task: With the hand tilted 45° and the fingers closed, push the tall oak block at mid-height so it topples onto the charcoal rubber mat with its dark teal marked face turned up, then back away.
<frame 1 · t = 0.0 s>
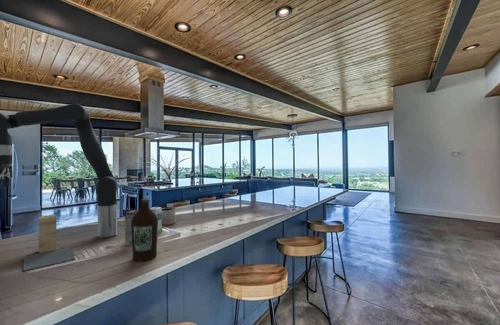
hand: (1, 187, 117), 29 cm above the counter, tool pointing down, fingers open, 8 cm apart
coffee box: (134, 243, 122), on the counter
planter: (167, 223, 161), on the counter
rubber mat: (49, 258, 102), on the counter
oak block: (47, 250, 111), on the counter
syrup box: (155, 232, 139), on the counter
olive oil: (144, 257, 102), on the counter
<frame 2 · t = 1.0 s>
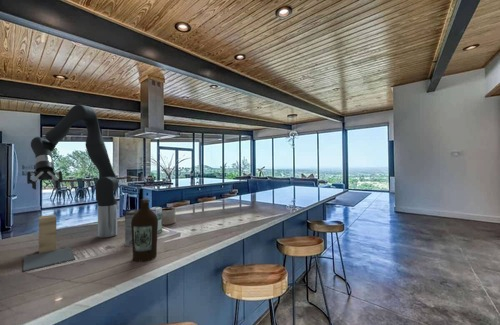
hand: (46, 187, 120), 28 cm above the counter, tool tilted 45°, fingers open, 7 cm apart
nothing on the counter moved.
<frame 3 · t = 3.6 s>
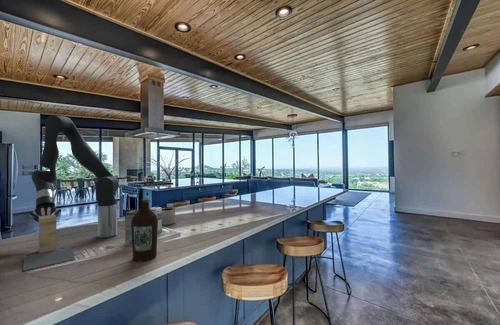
hand: (46, 227, 116), 9 cm above the counter, tool tilted 45°, fingers closed
nothing on the counter moved.
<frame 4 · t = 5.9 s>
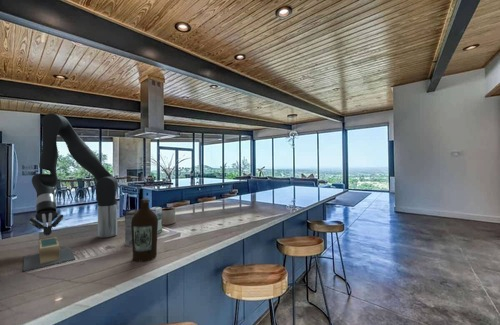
hand: (47, 234, 109), 8 cm above the counter, tool tilted 45°, fingers closed
oak block: (47, 244, 109), point 3 cm above the counter, tilted 90°, touching rubber mat
everything else where it was.
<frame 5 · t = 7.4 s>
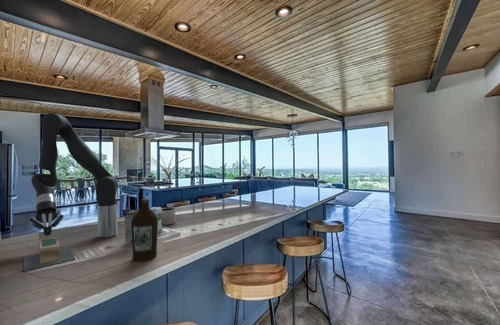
hand: (47, 234, 109), 8 cm above the counter, tool tilted 45°, fingers closed
nothing on the counter moved.
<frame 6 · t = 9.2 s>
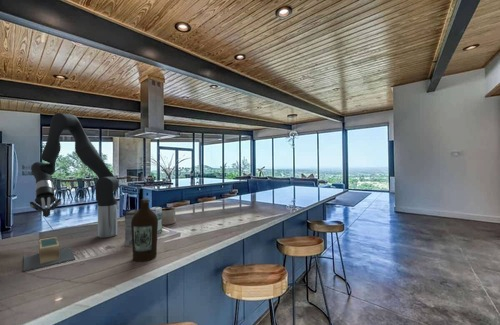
hand: (46, 216, 120), 14 cm above the counter, tool tilted 45°, fingers closed
nothing on the counter moved.
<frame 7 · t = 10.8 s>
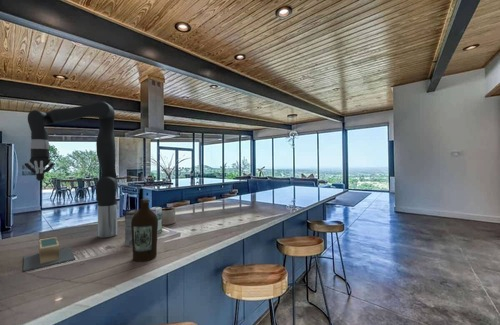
hand: (40, 180, 127), 32 cm above the counter, tool pointing down, fingers closed
nothing on the counter moved.
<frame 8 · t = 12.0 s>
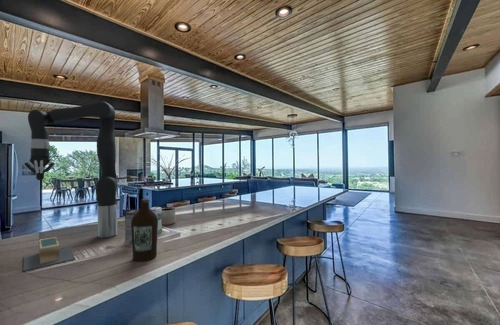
hand: (40, 180, 127), 32 cm above the counter, tool pointing down, fingers closed
nothing on the counter moved.
at the end: oak block tilted 90°; oak block touching rubber mat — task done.
